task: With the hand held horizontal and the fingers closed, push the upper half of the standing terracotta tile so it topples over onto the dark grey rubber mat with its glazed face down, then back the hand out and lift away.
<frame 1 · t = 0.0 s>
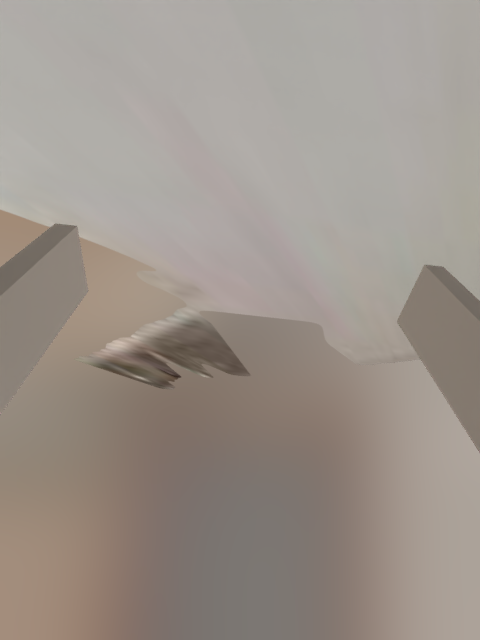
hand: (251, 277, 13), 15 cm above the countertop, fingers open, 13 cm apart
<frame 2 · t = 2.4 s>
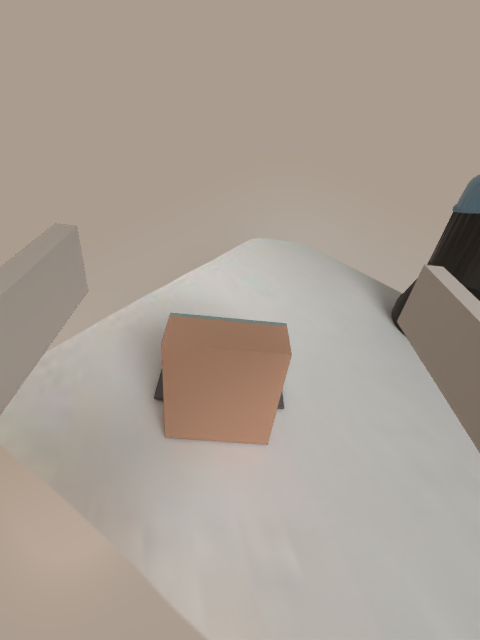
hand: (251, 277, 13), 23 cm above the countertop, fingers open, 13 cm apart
tile: (218, 423, 34), on the countertop
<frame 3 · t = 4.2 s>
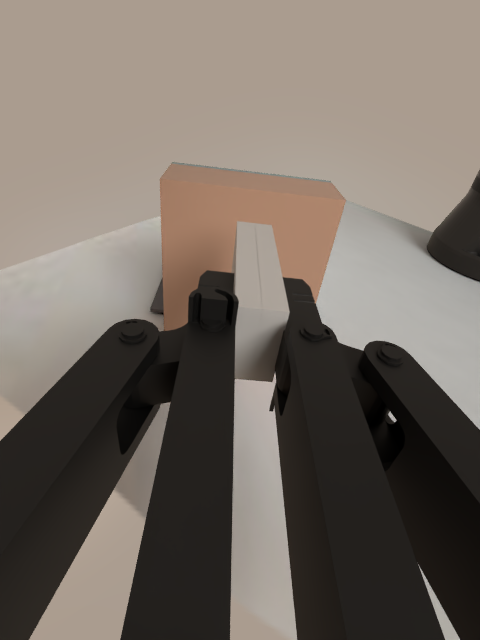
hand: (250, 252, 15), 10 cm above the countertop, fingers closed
tile: (233, 338, 27), on the countertop
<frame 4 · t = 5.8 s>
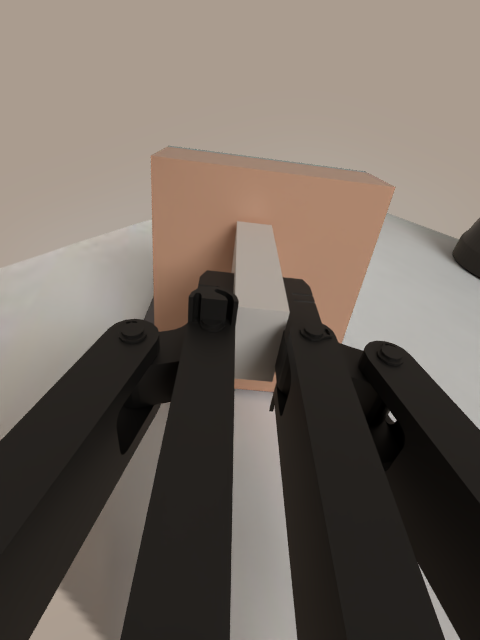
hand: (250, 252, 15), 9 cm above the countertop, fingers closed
tile: (240, 367, 22), on the countertop, touching gripper
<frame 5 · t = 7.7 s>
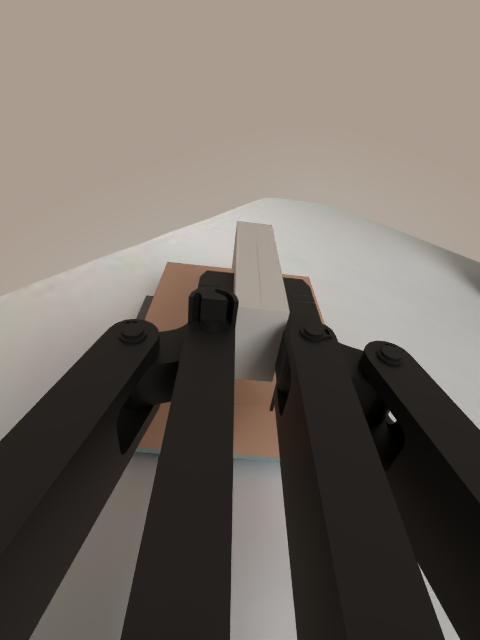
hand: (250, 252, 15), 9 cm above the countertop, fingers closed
tile: (232, 433, 15), point 2 cm above the countertop, tilted 90°, touching mat
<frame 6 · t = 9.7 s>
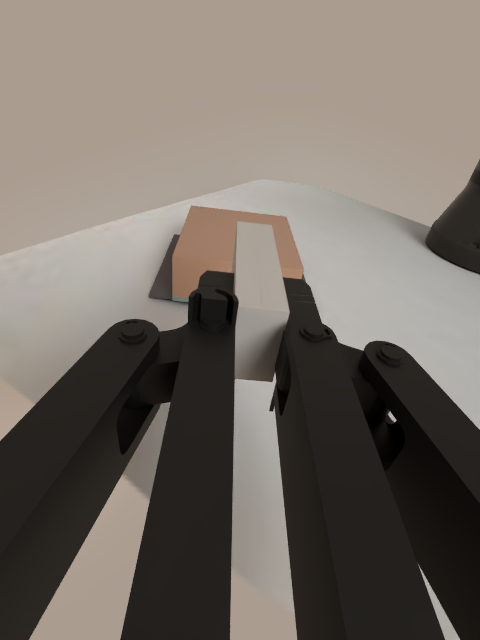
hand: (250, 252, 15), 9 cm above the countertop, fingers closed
tile: (236, 285, 27), point 2 cm above the countertop, tilted 90°, touching mat
mat: (234, 269, 34), on the countertop
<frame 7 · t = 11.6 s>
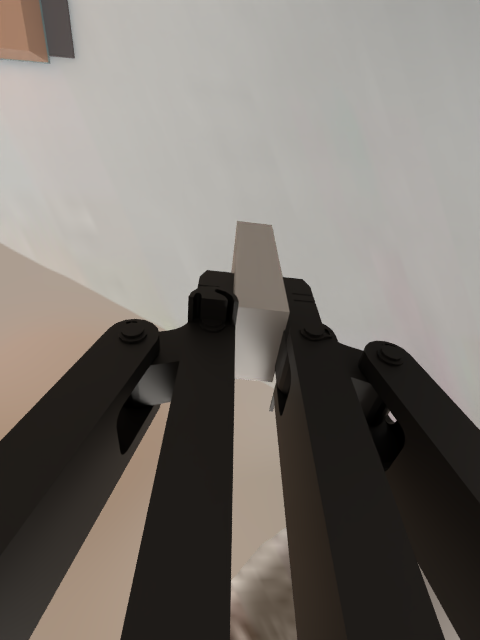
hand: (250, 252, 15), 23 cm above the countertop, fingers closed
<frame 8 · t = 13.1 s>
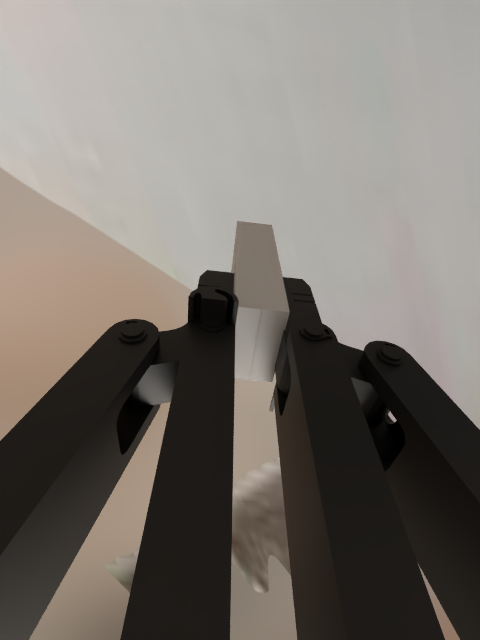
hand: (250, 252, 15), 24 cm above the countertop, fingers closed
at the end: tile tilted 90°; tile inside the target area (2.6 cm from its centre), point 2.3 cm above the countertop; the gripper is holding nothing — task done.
